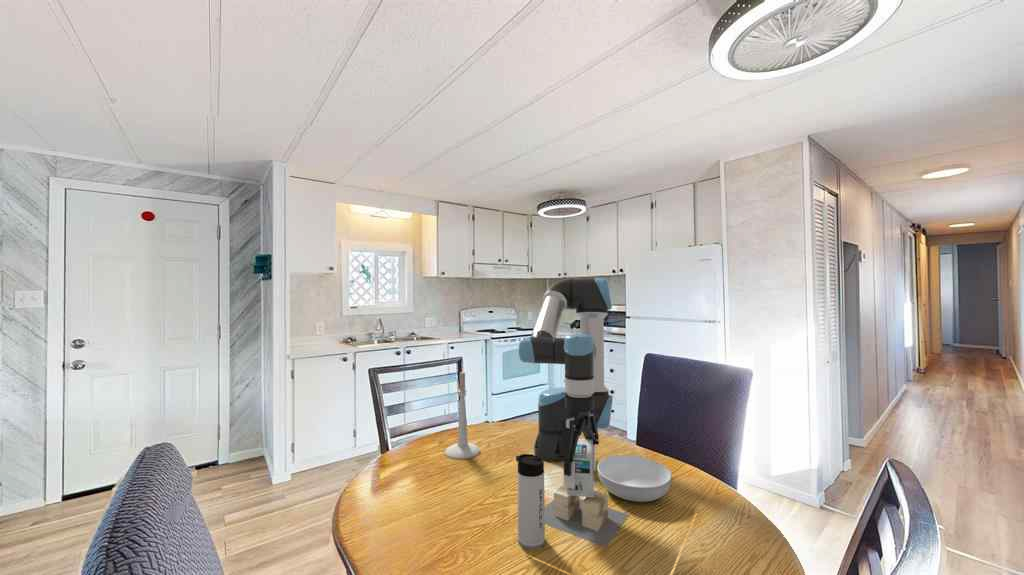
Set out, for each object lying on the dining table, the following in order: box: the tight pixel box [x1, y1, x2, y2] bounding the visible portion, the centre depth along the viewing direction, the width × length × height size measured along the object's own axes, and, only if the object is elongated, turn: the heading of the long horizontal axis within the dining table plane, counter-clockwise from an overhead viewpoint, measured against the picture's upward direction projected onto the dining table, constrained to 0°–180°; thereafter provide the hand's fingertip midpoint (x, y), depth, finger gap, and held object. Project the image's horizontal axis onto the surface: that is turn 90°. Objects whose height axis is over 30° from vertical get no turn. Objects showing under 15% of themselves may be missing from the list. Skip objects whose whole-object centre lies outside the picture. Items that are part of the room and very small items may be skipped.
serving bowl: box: [596, 454, 672, 503], centre depth 114 cm, size 21×21×7 cm
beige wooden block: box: [553, 483, 581, 521], centre depth 103 cm, size 7×4×6 cm, turn 145°
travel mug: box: [515, 453, 546, 551], centre depth 91 cm, size 6×7×20 cm
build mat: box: [545, 498, 630, 548], centre depth 101 cm, size 16×20×1 cm
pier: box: [582, 489, 609, 531], centre depth 99 cm, size 7×4×6 cm, turn 145°
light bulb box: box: [567, 438, 595, 498], centre depth 101 cm, size 11×7×11 cm, turn 168°
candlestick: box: [445, 371, 481, 460], centre depth 145 cm, size 13×13×30 cm
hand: (580, 477), depth 101 cm, fingers closed on light bulb box, 12 cm apart
